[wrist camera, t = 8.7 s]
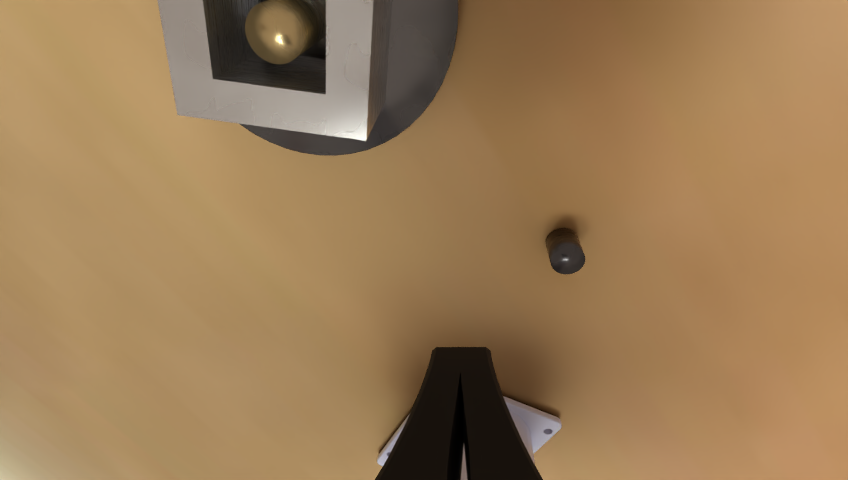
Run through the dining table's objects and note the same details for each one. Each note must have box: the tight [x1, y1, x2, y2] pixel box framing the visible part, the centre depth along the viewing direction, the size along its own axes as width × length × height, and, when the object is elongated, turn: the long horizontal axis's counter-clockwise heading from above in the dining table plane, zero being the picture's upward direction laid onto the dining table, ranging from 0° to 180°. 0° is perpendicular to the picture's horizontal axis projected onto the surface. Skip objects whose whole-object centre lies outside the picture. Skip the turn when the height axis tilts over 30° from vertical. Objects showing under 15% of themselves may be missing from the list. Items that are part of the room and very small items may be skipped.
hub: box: [239, 0, 458, 155], centre depth 15 cm, size 10×10×4 cm
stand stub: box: [546, 228, 585, 274], centre depth 20 cm, size 1×1×2 cm
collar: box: [158, 0, 392, 141], centre depth 14 cm, size 6×6×4 cm
